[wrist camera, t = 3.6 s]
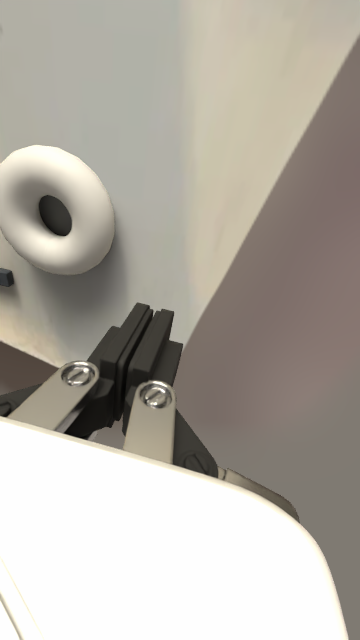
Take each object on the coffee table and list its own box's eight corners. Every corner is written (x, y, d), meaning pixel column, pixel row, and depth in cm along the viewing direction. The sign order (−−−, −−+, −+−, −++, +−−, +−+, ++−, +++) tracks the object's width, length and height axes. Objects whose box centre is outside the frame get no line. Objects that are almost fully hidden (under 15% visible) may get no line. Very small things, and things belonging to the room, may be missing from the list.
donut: (108, 139, 22) (-10, 149, 23) (89, 139, 19) (-44, 150, 20) (129, 266, 27) (31, 267, 28) (117, 281, 24) (9, 281, 26)
